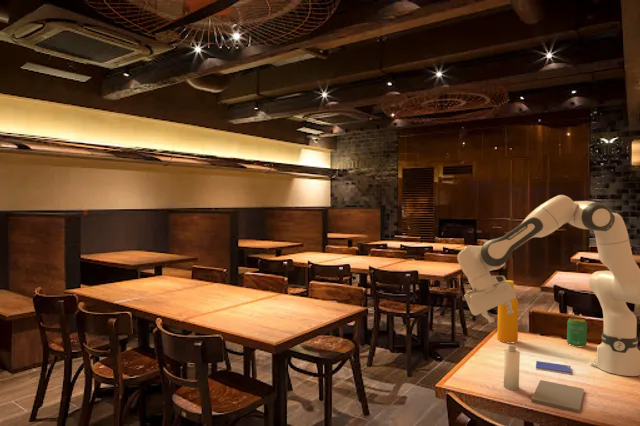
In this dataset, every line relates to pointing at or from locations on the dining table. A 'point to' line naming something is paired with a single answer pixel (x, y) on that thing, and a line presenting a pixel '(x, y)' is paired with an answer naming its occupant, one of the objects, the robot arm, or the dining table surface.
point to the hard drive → (553, 367)
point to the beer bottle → (508, 321)
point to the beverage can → (576, 331)
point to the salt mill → (511, 368)
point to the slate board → (558, 396)
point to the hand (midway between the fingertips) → (501, 318)
